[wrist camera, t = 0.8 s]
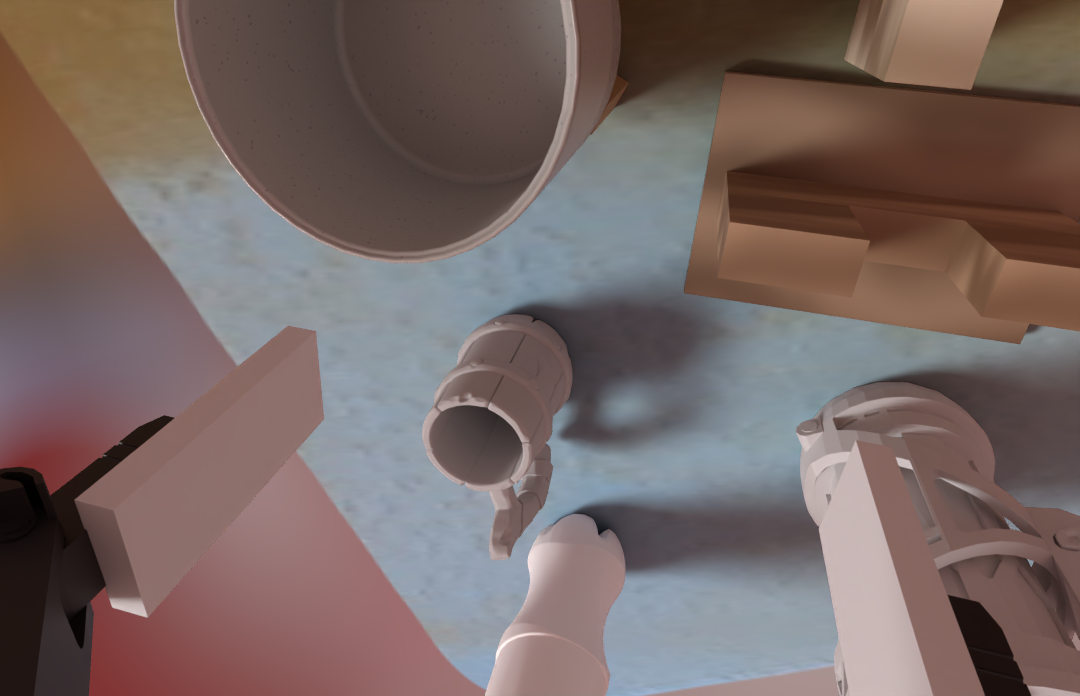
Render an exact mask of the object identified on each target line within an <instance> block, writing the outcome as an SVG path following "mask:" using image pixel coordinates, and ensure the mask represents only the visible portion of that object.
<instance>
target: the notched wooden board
mask: <svg viewBox="0 0 1080 696" xmlns="http://www.w3.org/2000/svg"><path fill="white" fill-rule="evenodd" d="M1002 3H1003V0H860V2H859V5H858V9H857V13H856V17H855V20H854V24H853V28H852V32H851V35H850V39H849V43H848V46H847V50H846V54H845V58H844V60H845V61H847V62H849V63H851V64H852V65H854V66H856V67H858V68H860V69H862V70H864V71H865V72H867V73H869V74H871V75H873V76H875V77H877V78H878V79H880V80H882V81H884V82H894V83H904V84H915V85H925V86H936V87H946V88H957V89H968V90H971V89H972V86H973V83H974V81H975V78H976V75H977V72H978V70H979V67H980V64H981V61H982V59H983V56H984V53H985V50H986V48H987V45H988V42H989V39H990V36H991V34H992V31H993V28H994V25H995V23H996V20H997V17H998V14H999V12H1000V9H1001V6H1002Z"/></svg>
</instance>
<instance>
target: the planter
mask: <svg viewBox="0 0 1080 696" xmlns="http://www.w3.org/2000/svg"><path fill="white" fill-rule="evenodd" d="M174 12H175V20H176V27H177V34H178V42H179V47H180V51H181V55H182V59H183V63H184V67H185V71H186V75H187V79H188V81H189V84H190V87H191V89H192V92H193V94H194V97H195V100H196V102H197V105H198V108H199V110H200V112H201V114H202V116H203V118H204V120H205V122H206V124H207V126H208V128H209V130H210V132H211V134H212V136H213V138H214V139H215V141H216V142H217V144H218V146H219V147H220V149H221V150H222V152H223V153H224V155H225V156H226V158H227V159H228V161H229V163H230V164H231V165H232V167H233V168H234V169H235V170H236V172H237V173H238V174H239V175H240V176H241V178H242V179H243V180H244V181H245V183H246V184H247V185H248V186H249V187H250V189H251V190H252V191H253V192H254V193H255V194H257V195H258V196H259V197H260V198H261V199H262V200H263V201H264V202H265V203H266V204H267V205H268V206H269V207H270V208H271V209H272V210H273V211H274V212H276V213H277V214H278V215H280V216H281V217H282V218H283V219H285V220H286V221H287V222H289V223H290V224H291V225H292V226H294V227H295V228H297V229H299V230H300V231H302V232H304V233H305V234H307V235H309V236H310V237H312V238H314V239H315V240H317V241H319V242H321V243H323V244H326V245H328V246H330V247H332V248H335V249H337V250H339V251H342V252H344V253H348V254H351V255H355V256H358V257H362V258H365V259H369V260H376V261H383V262H390V263H423V262H429V261H434V260H440V259H446V258H449V257H452V256H455V255H458V254H461V253H463V252H466V251H469V250H472V249H473V248H475V247H477V246H479V245H481V244H483V243H485V242H486V241H488V240H490V239H492V238H494V237H495V236H496V235H498V234H499V233H500V232H501V231H503V230H504V229H505V228H507V227H508V226H509V225H510V224H512V223H513V222H514V221H516V219H517V218H518V217H519V216H520V215H521V214H522V213H523V212H524V211H525V210H526V209H527V207H528V206H529V205H530V204H531V203H532V202H533V201H534V200H535V199H536V198H537V196H538V195H539V194H540V193H541V192H542V191H543V189H544V188H545V187H546V186H547V185H548V184H549V182H550V181H551V180H552V179H553V178H554V177H555V176H556V174H557V173H558V172H559V171H560V170H561V169H562V167H563V166H564V165H565V164H566V163H567V162H568V160H569V159H570V158H571V157H572V156H573V155H574V153H575V152H576V151H577V150H578V149H579V148H580V147H581V145H582V144H583V143H584V142H585V141H586V139H587V138H588V136H589V135H591V134H592V133H593V132H594V131H595V130H596V129H597V127H598V126H599V125H600V124H601V123H602V122H603V120H604V119H605V118H606V117H607V116H608V115H609V113H610V112H611V111H612V110H613V109H614V108H615V106H616V104H617V103H618V101H619V99H620V97H621V96H622V94H623V92H624V90H625V89H626V87H627V85H628V82H627V81H626V80H624V79H622V78H621V77H619V76H618V75H617V70H618V64H619V58H620V52H621V17H620V7H619V0H174Z"/></svg>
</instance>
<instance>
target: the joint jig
mask: <svg viewBox="0 0 1080 696" xmlns="http://www.w3.org/2000/svg"><path fill="white" fill-rule="evenodd" d="M1079 220H1080V105H1075V104H1065V103H1055V102H1044V101H1034V100H1023V99H1013V98H1003V97H992V96H982V95H971V94H961V93H950V92H940V91H930V90H919V89H909V88H898V87H888V86H877V85H867V84H857V83H846V82H836V81H825V80H815V79H805V78H794V77H784V76H773V75H763V74H752V73H742V72H732V71H725V75H724V80H723V85H722V90H721V96H720V101H719V106H718V112H717V117H716V122H715V128H714V133H713V138H712V144H711V149H710V154H709V159H708V165H707V170H706V175H705V181H704V186H703V191H702V197H701V202H700V207H699V213H698V218H697V223H696V228H695V234H694V239H693V244H692V250H691V255H690V260H689V266H688V271H687V276H686V281H685V287H684V293H687V294H693V295H700V296H706V297H713V298H720V299H726V300H733V301H739V302H746V303H752V304H759V305H766V306H772V307H779V308H785V309H792V310H798V311H805V312H812V313H818V314H825V315H831V316H838V317H844V318H851V319H858V320H864V321H871V322H877V323H884V324H890V325H897V326H904V327H910V328H917V329H923V330H930V331H936V332H943V333H950V334H956V335H963V336H969V337H976V338H982V339H989V340H996V341H1002V342H1009V343H1015V344H1020V343H1021V341H1022V339H1023V337H1024V335H1025V333H1026V331H1027V328H1028V326H1029V324H1034V325H1041V326H1048V327H1055V328H1061V329H1068V330H1075V331H1080V224H1079V223H1078V222H1079Z"/></svg>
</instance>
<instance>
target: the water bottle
mask: <svg viewBox="0 0 1080 696" xmlns="http://www.w3.org/2000/svg"><path fill="white" fill-rule="evenodd" d="M528 567H529V572H530V587H529V591H528V595H527V597H526V600H525V602H524V604H523V606H522V608H521V610H520V612H519V613H518V615H517V616H516V618H515V619H514V621H513V622H512V623H511V625H510V626H509V627H508V628H507V630H506V631H505V632H504V634H503V636H502V638H501V641H500V644H499V647H498V650H497V653H496V663H495V666H494V669H493V672H492V675H491V678H490V681H489V684H488V687H487V690H486V693H485V696H605V694H606V692H607V689H608V685H609V678H610V673H609V670H608V666H607V663H606V658H605V653H604V647H603V633H604V626H605V622H606V618H607V615H608V613H609V610H610V608H611V606H612V605H613V603H614V602H615V600H616V599H617V597H618V596H619V594H620V592H621V590H622V588H623V585H624V581H625V570H626V567H625V558H624V553H623V550H622V546H621V544H620V542H619V540H618V538H617V536H616V534H615V533H614V532H613V531H611V530H610V529H607V530H606V531H604V532H602V533H601V534H600V535H598V530H597V527H596V524H595V522H594V520H593V519H592V518H590V517H589V516H586V515H582V514H572V515H569V516H566V517H564V518H562V519H561V520H559V521H558V522H557V523H556V524H555V525H554V524H551V525H549V526H548V527H546V528H545V529H543V530H542V531H541V532H540V534H539V535H538V537H537V538H536V540H535V541H534V543H533V545H532V548H531V550H530V553H529V556H528Z"/></svg>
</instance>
